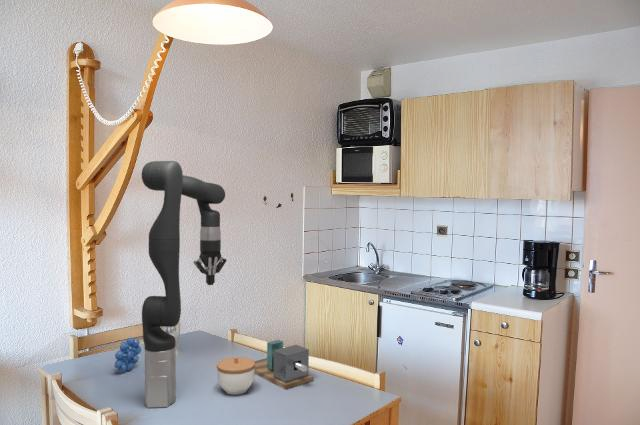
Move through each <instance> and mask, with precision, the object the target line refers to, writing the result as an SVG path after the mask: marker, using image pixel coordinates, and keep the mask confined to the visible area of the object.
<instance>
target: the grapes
mask: <svg viewBox="0 0 640 425" xmlns="http://www.w3.org/2000/svg"><path fill="white" fill-rule="evenodd" d="M141 352H142V348H141V346H140V340H139V339H135V338H134V337H129V338H127V340H126V341H124V342H123V341H122V342H121V344H120V345H119V350H118V351H117V352H116V353H115V355H114V357H115V360H116V361H115V362H114V368H115V369H118V372H119V373H120V374H122V373H124V372H129V371H131V370H132V369H133V367H134V364H135V365H136V364H137V363H138V362H139V359H140V357H139V356H138V355H140V353H141Z"/></svg>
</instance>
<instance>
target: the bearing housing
mask: <svg viewBox="0 0 640 425" xmlns="http://www.w3.org/2000/svg"><path fill="white" fill-rule="evenodd" d="M309 352H310V350H309V348H305V347H304V346H301V345H298V344H293V345H290V346H285V347H283V348H281V349H277V350H274V378H276V379H278V380H280V381H282V382H284V383H288V382H292V381H295V380H298V379H301V378H304V377H308V375H309V364H310V362H309V360H310V359H309V358H310V357H309V354H310V353H309ZM294 362H298V363H301V364H303V365H305V366H307V367H308V370H307V372H303V371H301V370H299V369H297V368H295V367H294Z"/></svg>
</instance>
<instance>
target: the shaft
mask: <svg viewBox="0 0 640 425" xmlns="http://www.w3.org/2000/svg"><path fill="white" fill-rule="evenodd" d="M266 345H267V346H266V358H267V368H268V369H270V370H274V350H277V349H281V348H284V341H282V340H280V339H275V340H272V341H268V342H267V343H266ZM294 367H295V368H297V369H299V370H301V371H303V372H307V370H308V367H307V366H305V365H303V364H301V363H298V362H294ZM308 371H309V370H308Z"/></svg>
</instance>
